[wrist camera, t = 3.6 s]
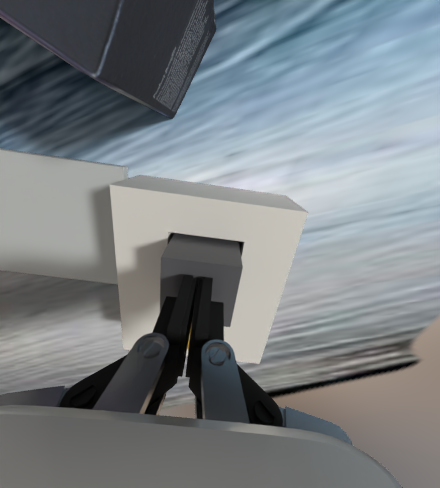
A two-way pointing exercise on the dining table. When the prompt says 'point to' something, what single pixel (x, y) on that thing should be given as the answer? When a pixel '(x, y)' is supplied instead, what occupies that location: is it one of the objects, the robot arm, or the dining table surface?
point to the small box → (123, 42)
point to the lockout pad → (57, 216)
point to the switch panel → (207, 225)
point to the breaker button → (202, 268)
